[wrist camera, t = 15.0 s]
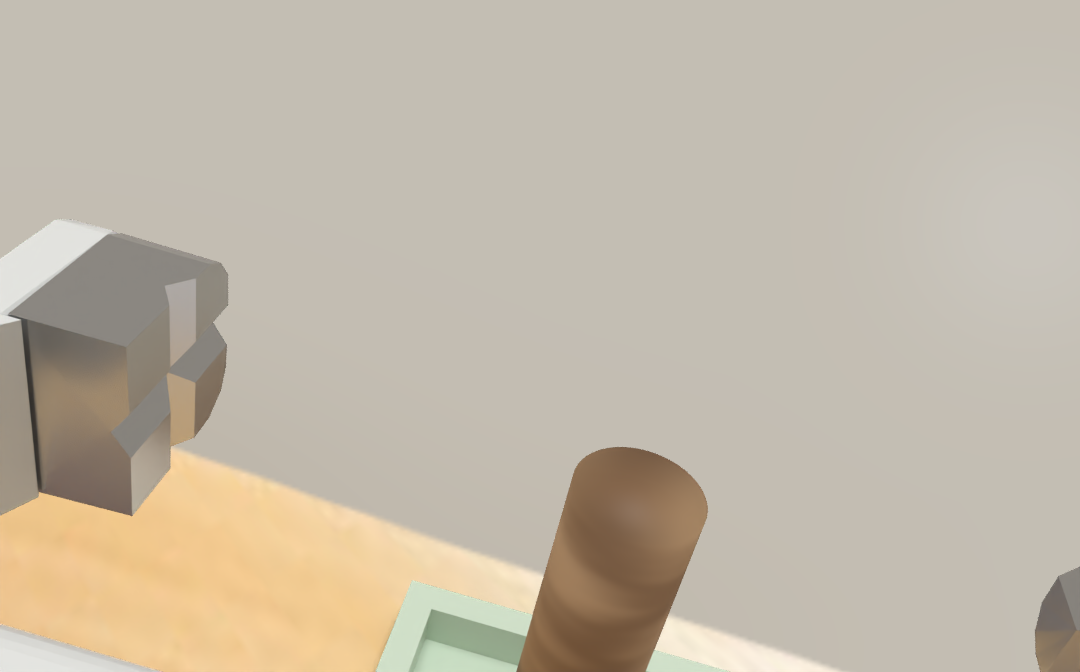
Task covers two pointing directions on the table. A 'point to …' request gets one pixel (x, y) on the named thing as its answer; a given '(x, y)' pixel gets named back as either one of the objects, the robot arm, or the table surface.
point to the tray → (472, 637)
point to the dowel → (614, 564)
